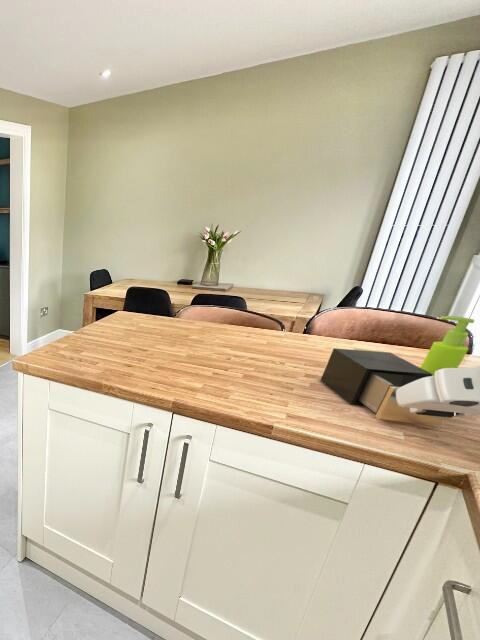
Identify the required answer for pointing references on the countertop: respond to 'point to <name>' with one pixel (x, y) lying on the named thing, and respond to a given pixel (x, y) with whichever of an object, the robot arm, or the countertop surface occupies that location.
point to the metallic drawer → (395, 400)
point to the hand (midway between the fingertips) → (433, 411)
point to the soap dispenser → (448, 347)
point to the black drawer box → (362, 370)
